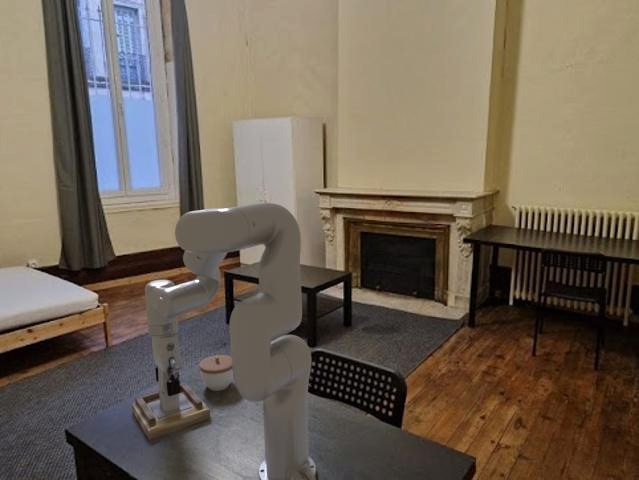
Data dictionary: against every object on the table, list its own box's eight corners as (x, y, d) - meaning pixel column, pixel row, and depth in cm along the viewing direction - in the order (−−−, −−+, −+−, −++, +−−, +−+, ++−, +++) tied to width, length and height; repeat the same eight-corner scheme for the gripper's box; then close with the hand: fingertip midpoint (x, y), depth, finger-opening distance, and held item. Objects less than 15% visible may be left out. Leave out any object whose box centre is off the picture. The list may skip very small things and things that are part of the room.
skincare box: (159, 402, 125) (155, 361, 123) (175, 398, 128) (172, 357, 125) (164, 413, 120) (160, 370, 118) (181, 408, 122) (178, 366, 120)
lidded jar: (218, 398, 132) (216, 368, 131) (193, 388, 138) (191, 359, 136) (243, 382, 141) (242, 354, 140) (218, 374, 147) (217, 347, 145)
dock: (210, 418, 123) (209, 404, 122) (149, 440, 113) (148, 425, 113) (188, 393, 135) (188, 381, 135) (132, 411, 126) (131, 398, 125)
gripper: (188, 333, 115) (193, 395, 118) (166, 315, 129) (171, 371, 132) (158, 341, 111) (164, 405, 114) (139, 321, 125) (144, 378, 128)
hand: (168, 387), depth 123 cm, fingers open, 9 cm apart
